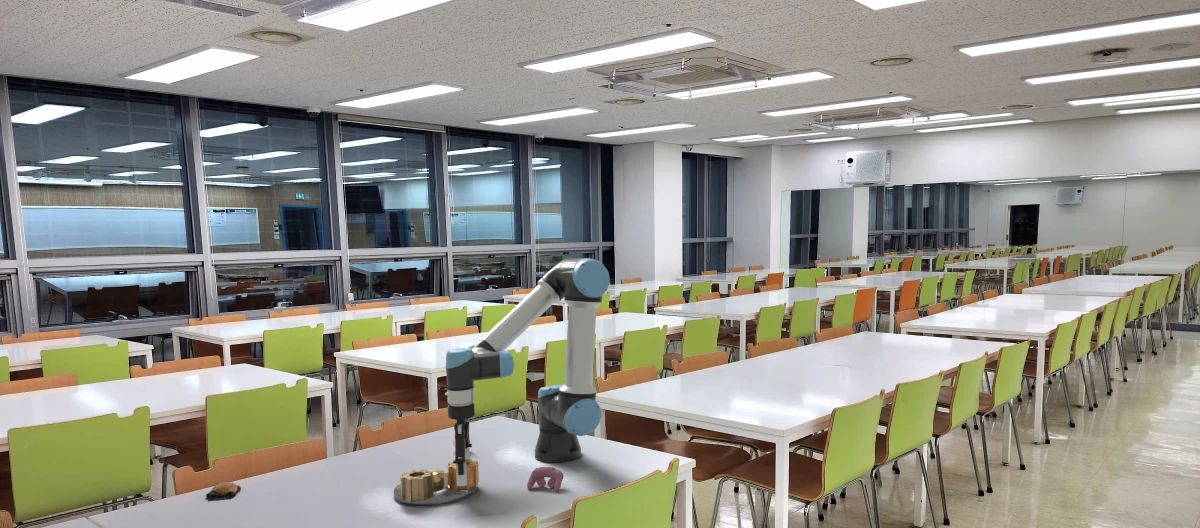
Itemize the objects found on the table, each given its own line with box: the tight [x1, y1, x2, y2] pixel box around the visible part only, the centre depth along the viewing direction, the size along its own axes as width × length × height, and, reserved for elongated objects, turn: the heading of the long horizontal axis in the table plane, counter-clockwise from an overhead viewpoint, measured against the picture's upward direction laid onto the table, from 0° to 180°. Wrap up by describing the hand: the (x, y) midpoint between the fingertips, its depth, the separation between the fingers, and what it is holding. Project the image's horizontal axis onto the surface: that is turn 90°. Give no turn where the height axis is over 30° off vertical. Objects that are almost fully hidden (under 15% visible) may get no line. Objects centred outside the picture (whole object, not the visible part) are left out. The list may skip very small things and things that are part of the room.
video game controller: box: [526, 466, 564, 493], centre depth 208 cm, size 10×5×7 cm, turn 71°
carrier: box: [393, 468, 478, 508], centre depth 207 cm, size 23×23×8 cm
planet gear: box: [446, 458, 480, 490], centre depth 208 cm, size 8×8×6 cm
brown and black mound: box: [205, 481, 242, 502], centre depth 210 cm, size 11×8×4 cm
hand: (463, 477), depth 208 cm, fingers open, 12 cm apart
